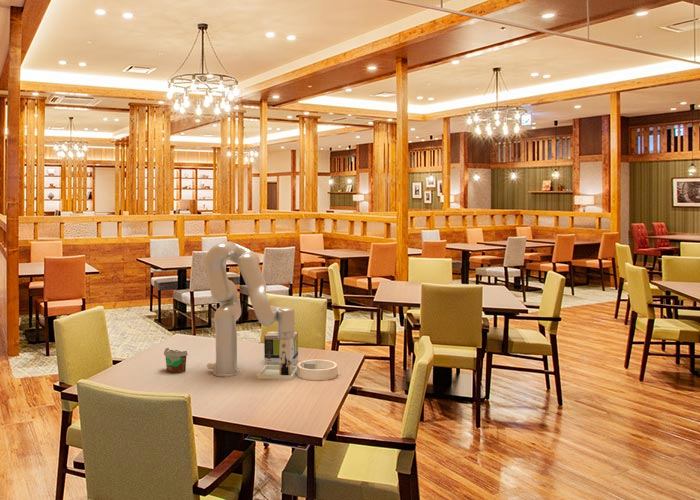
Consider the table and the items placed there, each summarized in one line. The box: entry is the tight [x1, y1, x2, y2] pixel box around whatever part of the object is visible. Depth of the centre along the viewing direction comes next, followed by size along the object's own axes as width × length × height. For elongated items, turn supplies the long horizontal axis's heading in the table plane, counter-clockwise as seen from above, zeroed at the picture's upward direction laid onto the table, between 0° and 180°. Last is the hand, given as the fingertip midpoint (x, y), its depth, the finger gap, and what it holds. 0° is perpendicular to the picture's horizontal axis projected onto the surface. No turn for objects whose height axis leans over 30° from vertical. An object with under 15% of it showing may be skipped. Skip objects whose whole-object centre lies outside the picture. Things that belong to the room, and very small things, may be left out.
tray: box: [256, 364, 297, 381], centre depth 278 cm, size 16×16×2 cm
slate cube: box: [304, 361, 317, 370], centre depth 279 cm, size 5×5×5 cm
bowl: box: [296, 358, 338, 381], centre depth 278 cm, size 18×18×5 cm
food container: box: [163, 347, 188, 374], centre depth 281 cm, size 12×6×10 cm, turn 62°
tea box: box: [263, 331, 299, 366], centre depth 298 cm, size 15×10×15 cm
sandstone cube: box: [278, 362, 293, 376], centre depth 278 cm, size 5×5×5 cm
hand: (286, 373), depth 278 cm, fingers closed on sandstone cube, 5 cm apart
